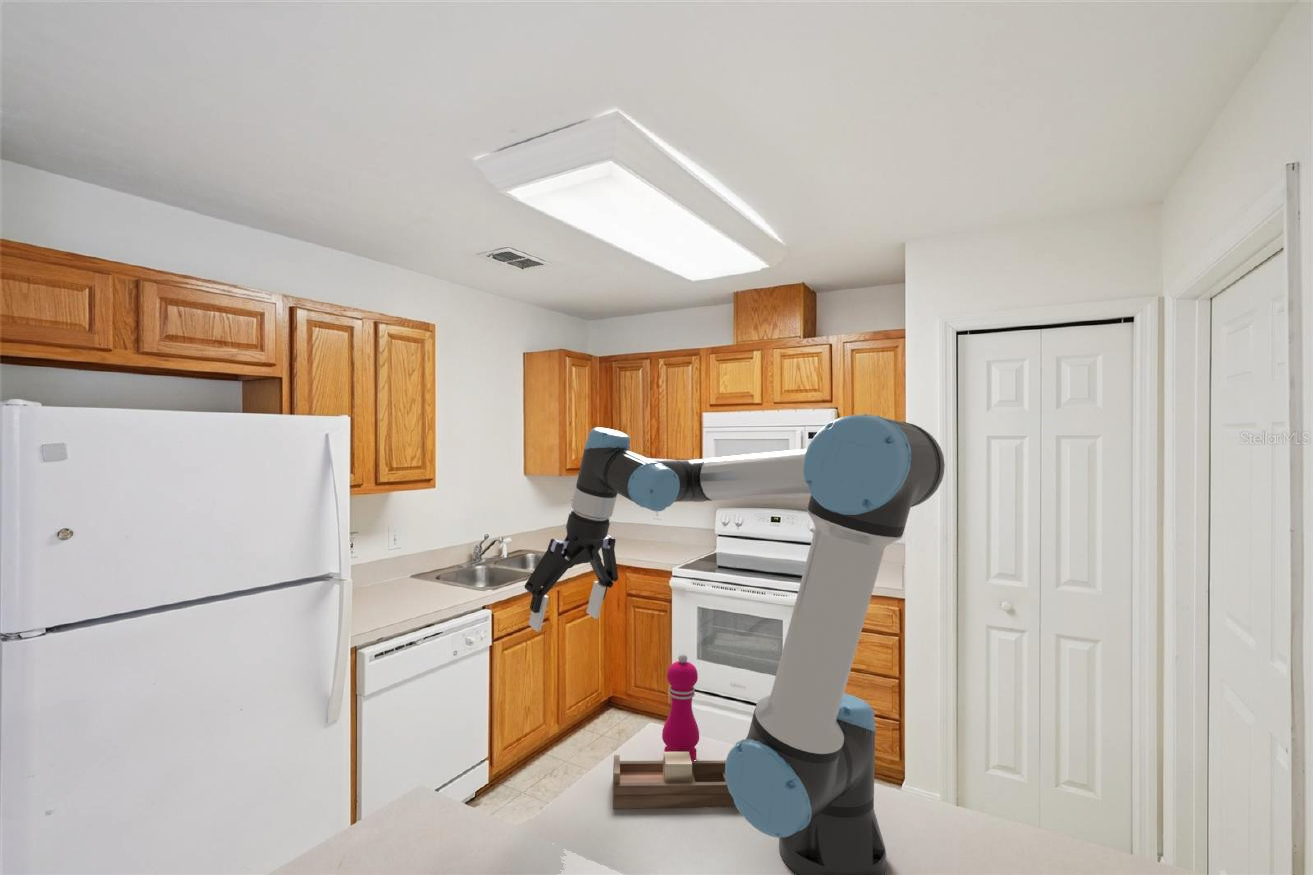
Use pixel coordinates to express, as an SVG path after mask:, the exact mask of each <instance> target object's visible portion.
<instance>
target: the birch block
mask: <svg viewBox="0 0 1313 875" xmlns="http://www.w3.org/2000/svg"><path fill="white" fill-rule="evenodd" d="M662 757H663V760H662V761H663V778H664V782H692V761H691V758H690V754H689V752H664V751H663V756H662Z"/></svg>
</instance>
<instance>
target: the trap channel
mask: <svg viewBox="0 0 1313 875" xmlns="http://www.w3.org/2000/svg"><path fill="white" fill-rule="evenodd" d="M725 764H726V760H725V759H724V760H720V759H719V760H718V759H717V760H696V761H692V782H664V778H663V760H621V757H620V754H613V769H612V771H613V772H612V808H613V809H676V808H677V809H680V808H681V809H682V808H683V809H685V808H686V809H687V808H688V809H689V808H691V809H694V808H702V809H703V808H737V807H736V805H735V803H734V799H733V797H732V795H731V794H730V793H729V790H728V787H727V783H726V777H725Z"/></svg>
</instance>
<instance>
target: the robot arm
mask: <svg viewBox="0 0 1313 875" xmlns="http://www.w3.org/2000/svg"><path fill="white" fill-rule="evenodd" d="M630 444H631V438H630V436H629V435H628V434H626V433H624V432H622V431H620V430H615V429H611V428H606V427H599V426H598V427H593V428H592V429H591V430H590V431H589V433H588V436H587V440H586V443H585V445H584V447H583V454H582V458H581V463H580V468H579V471H578V476H577V480H576V483H575V484H576V485H575V490H574V494H573V496H572V497H573V498H572V501H571V505H570V506H571V510H569V513H568V517H567V522H566V526H565V527H566V528H565V529H566V537H565V538H564V540H558V539H557V538H554V537H552V538H551V539H550V540H549V544H548V546H547V550H546V552H545V553H544V554H543V556H542V558H541V560H539V561H538V564H537V565H536V567H535V568H534V570H533V572H532V573H531V575H530V576H529V578H528V579H527V581H526V583H525V584H524V589H525V590H526V591H527V592H529V594H532V596H531V600H530V601H531V602H530V605H529V609H530V615H529V620H528V626H529V627H531V629H533V630H534V631H536V633H537V632H541V631H542V628H543V622H544V618H545V614H546V609H547V604H548V601H549V596H548V595H547V594H548V592H549V591H550V590H551V589H552V588H553V586H555V584H557V582H558V581H559V580H560V579H561V577H563V575H565V573H566V572H567V571H568V570H569V569H572V568H573V567H574V566H575V565H580V564H582V563H584V564H590V566H591V569H592V570H593V571H594V572H593V573H594V575H595V576H596V579H597V580H598V581H597V580H594V581H593V585H592V587H591V588H592V589H591V592H590V596H589V600H588V603H587V604H588V605H587V608H586V614H588V615H589V616H591V618H593V619H595V620H597V619H599V617H600V612H601V609H602V604H603V601H604V600H605V597H606V595H607V590H608V588H609V589H611V588H612V587H613V586H614V583H615V582H618V579H619V573H618V566H617V558H616V552H615V547H616V541H617V540H616V538H614V537H613V536H611V535H609V529H610V524H611V518H612V516H613V513H614V509H615V505H616V501H617V496H618V495H620V496H621V497H622V496H623V497H624V498H626V499H628V500H630V501H631V502H633V503H635V504H636V505H638V506H639V507H641V508H643V509H644V508H645V509H648V510H651V511H653V512H662V511H665V510H666V508H668V507H669V508H670V507H671V506H672V505H673V503H676V502H677V503H680V502H681V503H683V502H684V503H686V502H688V503H689V502H692V503H694V502H695V503H696V502H697V503H699V502H700V503H703V502H710V501H711V502H712V501H731V500H734V501H735V500H758V499H760V500H761V499H783V498H784V499H786V498H787V499H788V498H790V499H791V498H809V500H808V506H807V510H806V511H807V514H808V515H809V517H810V518H811V520H812V522H813V524H814V531H813V535H812V539H811V543H810V546H809V551H808V554H807V557H806V562H805V564H804V565H805V566H804V569H803V573H802V577H801V581H800V584H799V587H798V592H797V596H796V599H795V602H794V606H793V609H792V613H791V617H790V622H789V625H788V629H787V633H786V637H785V640H784V644H783V648H782V651H781V656H780V659H779V663H778V665H777V666H778V667H777V670H776V675H775V677H774V682H773V685H772V689H771V693H770V694H769V695H767V696H764V697H762V698H760V699H759V700H758V701H757V702H756V705H755V707H754V710H753V715H752V718H751V723H750V726H749V730H748V732H747V733H748V734H747V736H746V738H744V739H741V740H740V741H737V742H736V743H735V745H734V746H733V747H732V748H731V749H730V751H729V752H728V754H727V757H726V764H725V777H726V783H727V787H728V790H729V793H730V794H731V795H732V797H733V799H734V803H735V805H736V807H735V808H736V809H737V810H738V811H739V812H740V814H741V815H742V817H743V818H744V819H745V820H746V821H747V822H748V823H749V824H750V825H751V826H753V828H755V829H756V830H757V831H759V832H760V833H762V834H764V835H767V836H769V837H773V838H778V851H779V854H780V857H781V858H782V861H783V862H784V863H785V864H786V865H787V867H788V868H790V870H792V871H793V872H794V873H795V874H797V875H886V872H887V851H886V845H885V842H884V838H883V836H882V832H881V829H880V826H879V822H878V819H877V815H876V813H875V812H876V810H875V806H874V804H875V803H874V801H875V800H874V799H875V765H876V764H875V757H876V756H875V754H876V733H877V727H876V724H875V722H876V721H875V711H874V709H873V707H872V706H871V705H870V704H869V703H868V702H867V701H865V700H864V699H861V698H859V697H858V696H857V697H856V696H854V695H852V694H848V693H845V692H846V691H845V690H846V687H847V684H848V681H849V677H850V673H851V669H852V667H853V663H854V659H855V655H856V652H857V649H858V645H859V640H860V638H861V634H862V631H863V627H864V624H865V620H866V617H867V614H868V610H869V606H870V603H871V598H872V595H873V592H874V588H875V584H876V581H877V578H878V573H879V570H880V567H881V563H882V560H883V557H884V552H885V549H886V548H887V546H889V545H891V544H893V543H896V542H898V541H899V540H901V539H902V538H903V535H904V531H905V528H906V524H907V522H908V517H909V514H910V510H911V508H913V507H916V506H919V505H921V504H923V503H924V502H926V501H928V500H929V499H930V498H931V497H932V496H934V494H935V493H936V492H937V490H938V489H939V487H940V485H941V484H942V481H943V480H944V475H945V466H946V465H945V456H944V453H943V451H942V449H941V446H940V445H939V443H938V442H937V440H936V439H935V438H934V436H933V435H932V434H931V433H930V432H928V431H926V430H925V429H923V428H922V427H921V426H918V425H916V424H914V423H909V422H905V421H899V420H893V419H890V418H885V417H882V416H879V415H871V414H853V415H846V416H841V417H839V418H836V419H834V420H832V421H830V422H828V423H827V424H825V425H824V426H822V427H821V429H819V431H817V433H816V434H815V435H814V436H813V437H812V439H811V440H810V441H809V444H808V445H807V447H806V448H800V449H790V450H788V449H787V450H781V451H780V450H779V451H768V452H760V453H759V452H758V453H749V454H748V453H747V454H739V455H730V456H721V457H710V458H709V457H708V458H694V459H673V458H672V459H669V458H653V457H652V458H651V457H645V456H643V455H641V454H638V453H636V452H634V451H632V450H630V449H631V446H630ZM600 549H601V554H602V557H601V555H600V553H599V551H600ZM566 558H567V559H566Z"/></svg>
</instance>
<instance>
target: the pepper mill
mask: <svg viewBox="0 0 1313 875" xmlns="http://www.w3.org/2000/svg"><path fill="white" fill-rule="evenodd" d="M666 679H667V682H668V684H669V685H670V686H669V687H668V690H669V692H668V695H669V696H670V698H671V703H670V704H671V705H670V710H669V711H670V712H669V714H668V716H667V717H666V718H667V719H666V720H665V722H664V725H663V727H662V734H661V737H662V738H661V739H662V741H663V743H664V744H665V747H664V749H663V753H664V752H689V754H690V758H691V761H694V760H696V761H697V749H696V745H698V743H699V741H700V730H699V726H698V723H697V720H696V718H695V715H694V711H693V704H692V703H693V698H694V697H695V696H696V693H695V690H696V688H695V685H696V684H697V683H698V679H699V675H698V670H697V668H696V666H694V664H693V663H691V662H689V661H688V656H687V655H686V654H685V653H681V654H679V655H678V661H675V662H673V663H672V664H671V665H669V667H668V669H667V672H666Z"/></svg>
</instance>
